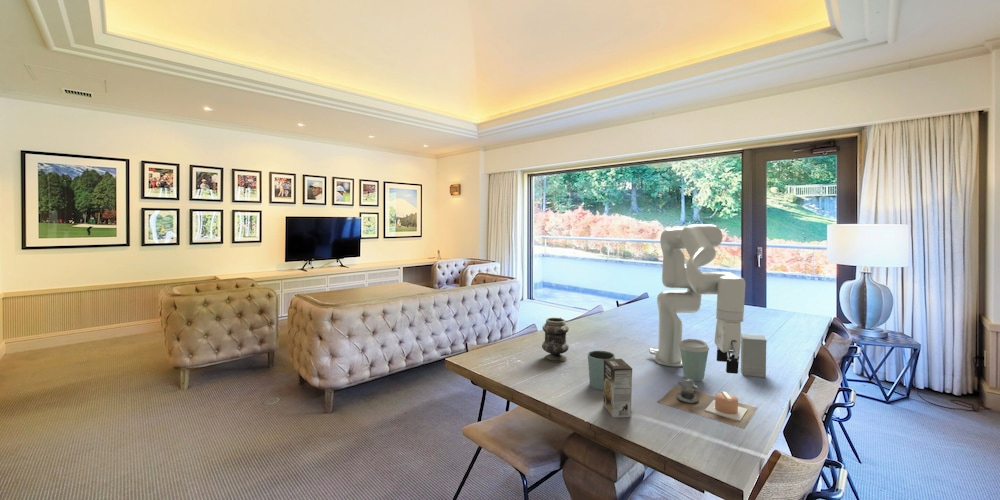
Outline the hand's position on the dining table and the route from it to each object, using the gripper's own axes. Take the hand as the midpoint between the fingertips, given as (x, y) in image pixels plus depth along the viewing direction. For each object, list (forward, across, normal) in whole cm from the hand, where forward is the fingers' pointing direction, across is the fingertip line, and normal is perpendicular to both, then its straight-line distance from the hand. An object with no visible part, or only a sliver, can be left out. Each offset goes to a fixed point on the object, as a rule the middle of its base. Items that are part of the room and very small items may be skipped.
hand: (726, 366), depth 130 cm
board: (+15, -2, -5) cm, 16 cm away
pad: (+14, +1, 0) cm, 14 cm away
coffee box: (+16, +7, -34) cm, 38 cm away
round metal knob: (+14, -5, -10) cm, 18 cm away
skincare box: (+16, -38, +21) cm, 46 cm away
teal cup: (+16, -13, -39) cm, 44 cm away
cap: (+14, +1, 0) cm, 14 cm away
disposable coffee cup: (+16, -26, -4) cm, 31 cm away
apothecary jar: (+17, -40, -58) cm, 72 cm away
